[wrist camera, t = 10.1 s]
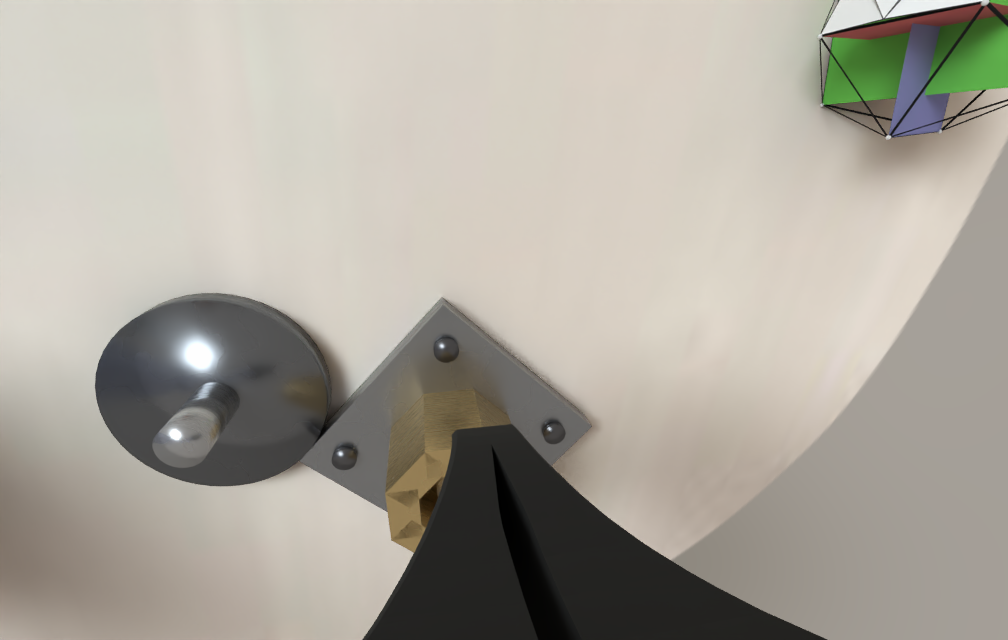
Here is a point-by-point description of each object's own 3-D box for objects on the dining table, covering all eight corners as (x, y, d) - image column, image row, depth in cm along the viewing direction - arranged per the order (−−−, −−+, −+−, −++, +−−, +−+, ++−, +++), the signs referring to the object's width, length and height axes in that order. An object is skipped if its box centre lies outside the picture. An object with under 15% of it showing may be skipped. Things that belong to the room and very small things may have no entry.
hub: (458, 537, 24) (466, 610, 20) (304, 446, 20) (279, 513, 17) (584, 414, 22) (617, 468, 19) (441, 297, 19) (447, 333, 15)
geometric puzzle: (1068, -89, 16) (1278, -235, 9) (1005, 127, 18) (1137, 130, 12) (818, -39, 19) (846, -121, 13) (793, 139, 22) (805, 147, 15)
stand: (255, 500, 21) (220, 576, 17) (67, 402, 18) (-22, 469, 14) (371, 374, 20) (360, 427, 16) (190, 249, 17) (127, 278, 13)
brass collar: (456, 506, 22) (464, 580, 18) (368, 451, 20) (357, 521, 16) (531, 432, 21) (556, 493, 17) (446, 368, 19) (454, 422, 15)
